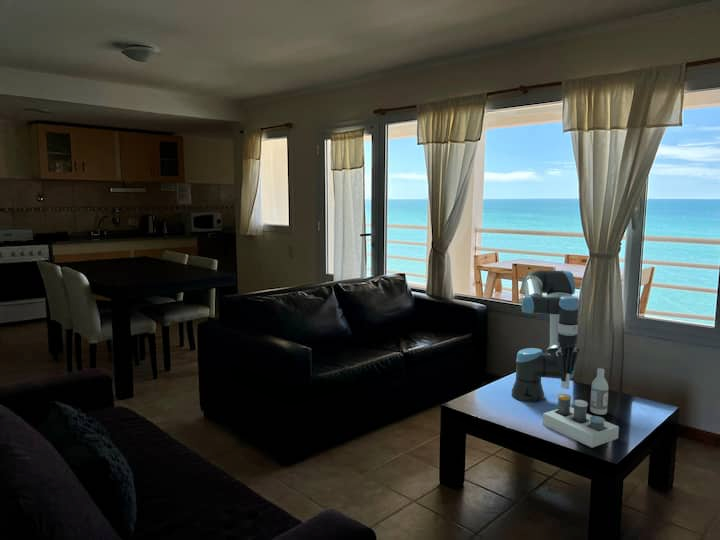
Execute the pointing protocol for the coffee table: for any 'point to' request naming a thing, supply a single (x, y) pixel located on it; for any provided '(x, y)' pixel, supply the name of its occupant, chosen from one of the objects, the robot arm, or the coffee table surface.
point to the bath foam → (599, 394)
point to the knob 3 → (597, 423)
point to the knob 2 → (580, 411)
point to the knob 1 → (564, 404)
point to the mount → (580, 428)
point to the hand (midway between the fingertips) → (565, 388)
